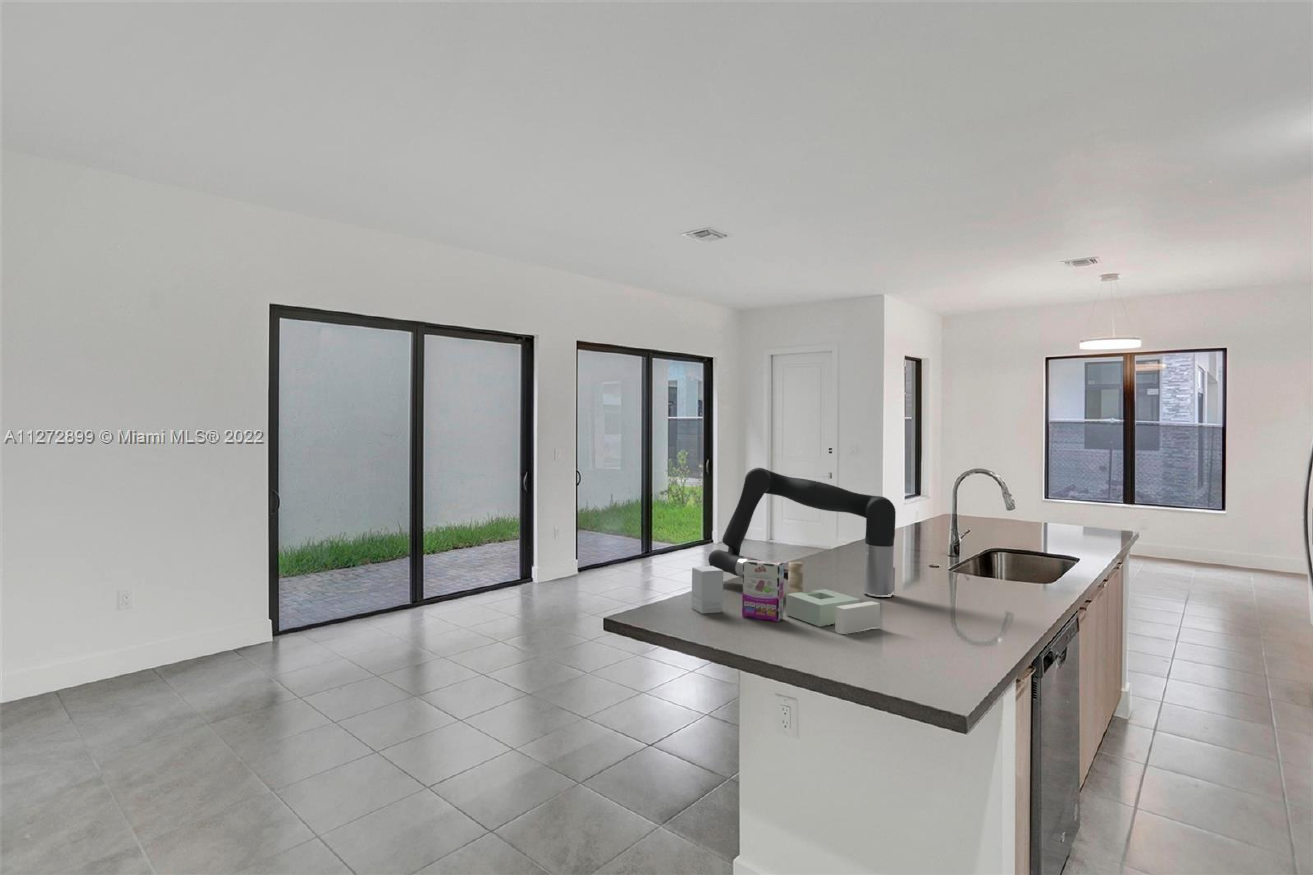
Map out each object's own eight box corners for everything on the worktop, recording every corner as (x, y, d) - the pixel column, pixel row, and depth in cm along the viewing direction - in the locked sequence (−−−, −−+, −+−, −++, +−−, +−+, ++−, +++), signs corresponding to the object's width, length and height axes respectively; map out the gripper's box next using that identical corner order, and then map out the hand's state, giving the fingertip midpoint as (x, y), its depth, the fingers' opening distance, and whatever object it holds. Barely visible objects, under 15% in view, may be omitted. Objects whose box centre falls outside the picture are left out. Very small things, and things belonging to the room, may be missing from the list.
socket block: (825, 608, 207) (826, 589, 207) (860, 619, 195) (860, 599, 195) (785, 614, 199) (786, 594, 199) (819, 626, 187) (819, 605, 187)
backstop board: (871, 625, 190) (871, 601, 190) (879, 628, 188) (880, 603, 188) (835, 632, 183) (835, 606, 183) (843, 635, 181) (844, 609, 181)
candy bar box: (783, 618, 196) (785, 562, 196) (778, 622, 191) (779, 565, 191) (747, 613, 201) (748, 558, 201) (741, 616, 196) (742, 560, 196)
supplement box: (723, 612, 201) (724, 570, 201) (700, 614, 198) (702, 571, 198) (712, 606, 208) (713, 565, 208) (690, 607, 205) (691, 566, 205)
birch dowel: (795, 606, 211) (796, 561, 210) (805, 609, 207) (806, 563, 207) (784, 607, 208) (785, 562, 208) (794, 610, 205) (795, 565, 204)
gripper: (734, 560, 223) (766, 569, 209) (768, 556, 230) (801, 565, 216) (734, 582, 223) (765, 593, 209) (768, 578, 230) (800, 588, 216)
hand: (783, 579), depth 212 cm, fingers open, 8 cm apart
